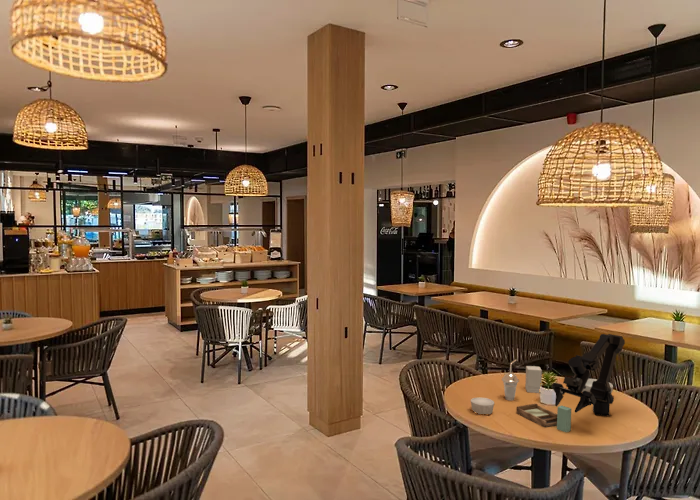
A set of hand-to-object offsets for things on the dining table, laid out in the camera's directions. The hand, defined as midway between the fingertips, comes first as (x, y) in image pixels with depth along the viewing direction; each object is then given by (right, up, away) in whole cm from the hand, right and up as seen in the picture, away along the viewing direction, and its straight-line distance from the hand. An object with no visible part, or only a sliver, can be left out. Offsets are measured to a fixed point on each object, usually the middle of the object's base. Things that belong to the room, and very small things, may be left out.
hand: (565, 408), depth 229 cm
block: (-1, -9, 0) cm, 9 cm away
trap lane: (-6, -8, +13) cm, 17 cm away
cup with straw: (-12, -7, +39) cm, 42 cm away
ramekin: (-32, -8, +21) cm, 39 cm away
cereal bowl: (+35, -7, +46) cm, 58 cm away
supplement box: (+4, -6, +53) cm, 53 cm away
